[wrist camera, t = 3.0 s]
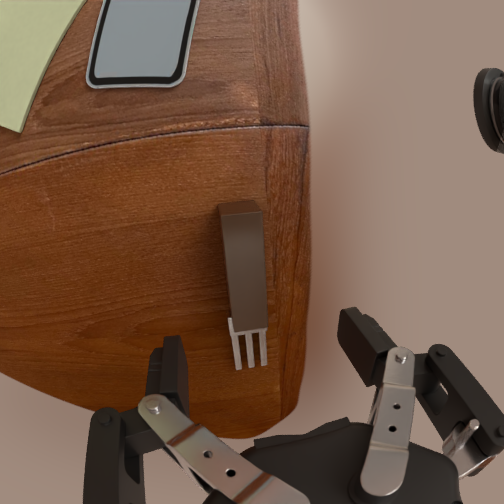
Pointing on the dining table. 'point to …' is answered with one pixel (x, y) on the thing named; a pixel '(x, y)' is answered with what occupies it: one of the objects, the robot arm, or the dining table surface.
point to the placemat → (28, 51)
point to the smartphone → (141, 43)
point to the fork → (245, 276)
